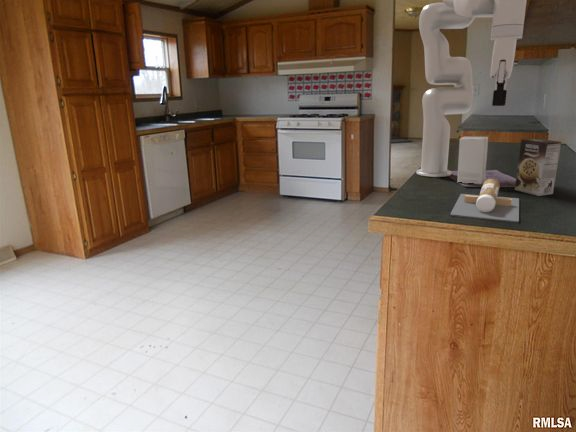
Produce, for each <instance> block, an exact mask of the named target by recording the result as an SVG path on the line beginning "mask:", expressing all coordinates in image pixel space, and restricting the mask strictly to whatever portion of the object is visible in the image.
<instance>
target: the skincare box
mask: <svg viewBox="0 0 576 432" xmlns="http://www.w3.org/2000/svg"><path fill="white" fill-rule="evenodd" d="M488 141H489V136H469V135H468V136H467V135H466V136H465V135H464V136H462V137H460V138H459V142H458V143H459V147H458V161H457V163H458V164H457V183H458V182H462V183H461V184H468V183H474V184H473V185H483V183H484V181H486V172H487V171H486V170H487V159H488V145H489V142H488ZM458 184H459V183H458Z"/></svg>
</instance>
